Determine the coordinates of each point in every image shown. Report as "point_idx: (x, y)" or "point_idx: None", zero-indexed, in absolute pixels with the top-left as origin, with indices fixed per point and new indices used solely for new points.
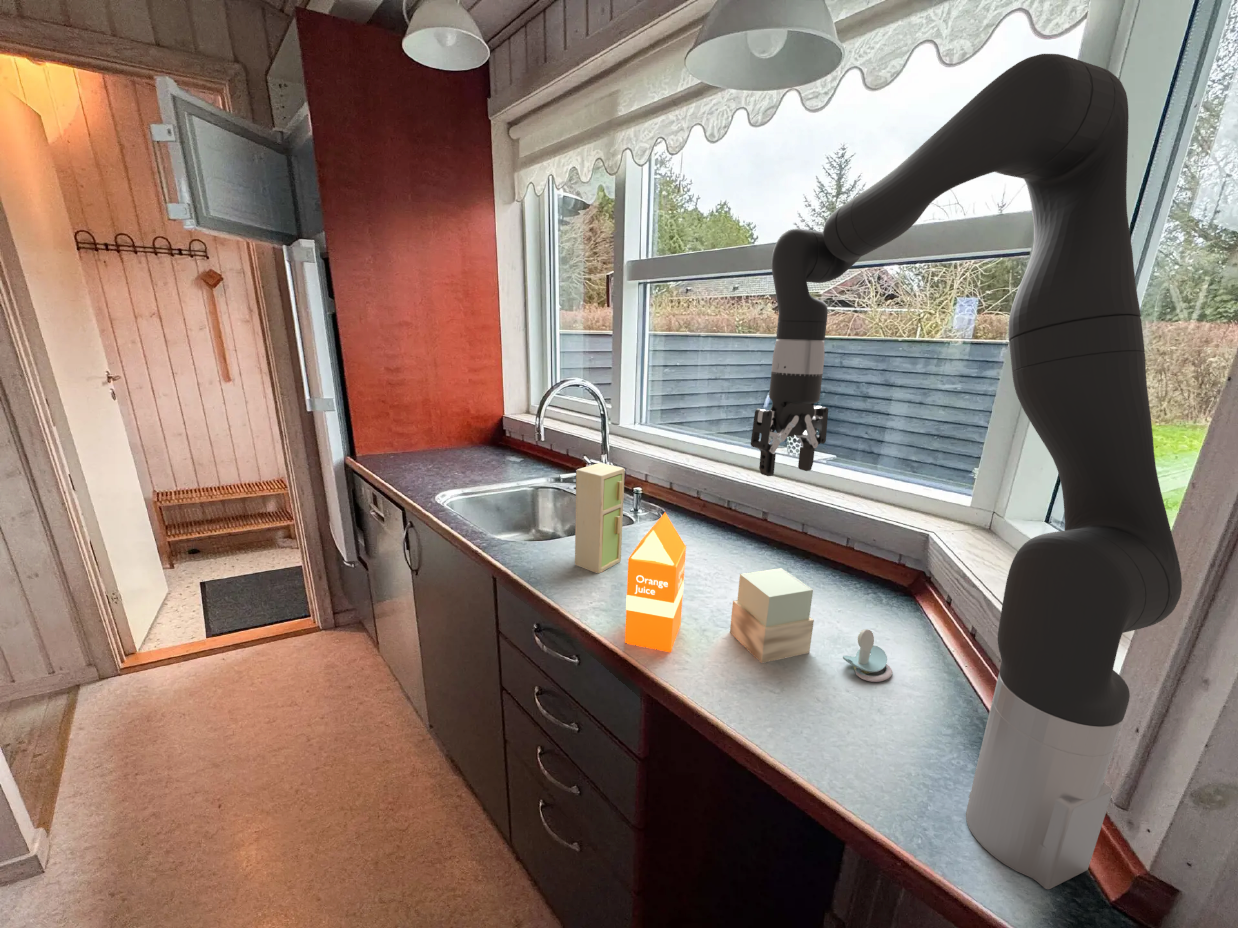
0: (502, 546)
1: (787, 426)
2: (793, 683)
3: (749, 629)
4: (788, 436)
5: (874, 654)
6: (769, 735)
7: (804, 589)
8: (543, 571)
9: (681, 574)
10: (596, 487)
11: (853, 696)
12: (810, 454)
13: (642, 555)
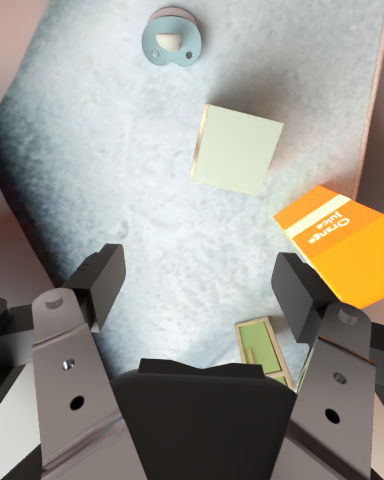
0: None
1: (361, 444)
2: (266, 73)
3: None
4: (257, 366)
5: (152, 45)
6: (361, 19)
7: (220, 112)
8: None
9: (318, 232)
10: None
11: (232, 12)
12: (99, 274)
13: None
